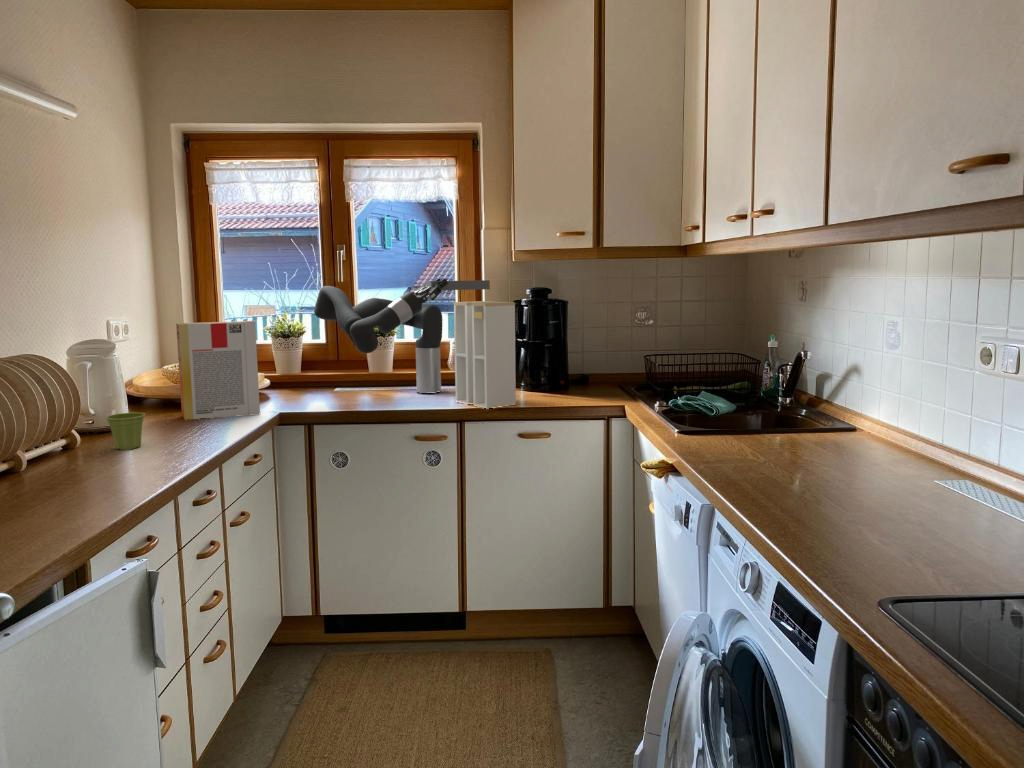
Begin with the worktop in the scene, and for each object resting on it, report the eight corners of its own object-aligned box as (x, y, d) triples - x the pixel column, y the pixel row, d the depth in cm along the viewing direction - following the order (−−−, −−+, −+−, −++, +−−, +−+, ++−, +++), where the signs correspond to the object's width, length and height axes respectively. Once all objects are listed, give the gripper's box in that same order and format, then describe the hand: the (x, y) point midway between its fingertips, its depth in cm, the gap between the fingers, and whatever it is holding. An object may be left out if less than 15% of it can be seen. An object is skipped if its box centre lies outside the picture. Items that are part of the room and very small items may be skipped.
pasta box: (255, 410, 276) (250, 320, 272) (259, 414, 269) (255, 322, 265) (182, 416, 266) (176, 323, 262) (184, 420, 259) (178, 324, 255)
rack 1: (483, 399, 297) (482, 301, 292) (496, 401, 290) (495, 301, 286) (455, 402, 290) (453, 302, 285) (468, 405, 283) (466, 302, 279)
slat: (484, 289, 284) (484, 280, 283) (489, 289, 281) (489, 280, 281) (426, 290, 270) (426, 281, 270) (431, 290, 268) (431, 281, 267)
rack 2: (501, 402, 288) (500, 301, 283) (515, 405, 282) (514, 302, 277) (472, 406, 281) (470, 302, 276) (486, 409, 274) (484, 303, 270)
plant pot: (107, 453, 212) (104, 419, 211) (109, 446, 221) (106, 414, 219) (147, 449, 216) (144, 416, 215) (147, 443, 224) (145, 411, 223)
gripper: (409, 299, 257) (449, 270, 265) (388, 298, 268) (427, 271, 276) (420, 319, 260) (459, 290, 268) (398, 317, 271) (437, 290, 279)
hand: (443, 281), depth 272 cm, fingers closed on slat, 3 cm apart
